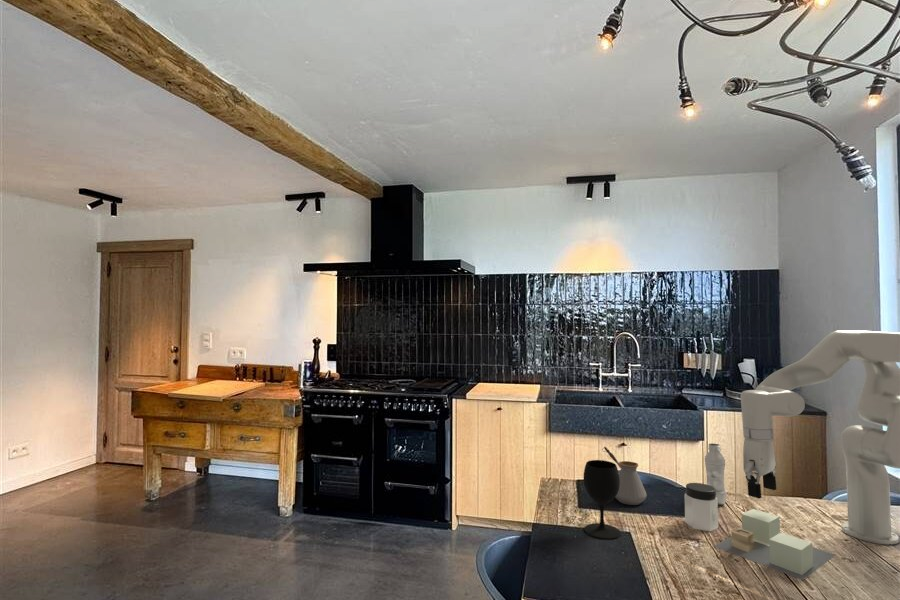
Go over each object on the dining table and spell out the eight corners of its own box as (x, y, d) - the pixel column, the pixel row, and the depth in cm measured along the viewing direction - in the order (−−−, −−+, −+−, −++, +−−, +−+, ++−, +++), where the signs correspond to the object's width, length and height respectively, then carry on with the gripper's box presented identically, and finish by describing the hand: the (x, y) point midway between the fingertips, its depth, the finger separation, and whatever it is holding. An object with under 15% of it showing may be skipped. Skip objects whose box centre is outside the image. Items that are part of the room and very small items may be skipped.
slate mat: (750, 528, 143) (750, 526, 143) (836, 556, 125) (835, 554, 126) (713, 548, 130) (713, 545, 130) (802, 582, 113) (802, 579, 113)
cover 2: (781, 555, 125) (780, 532, 125) (813, 566, 119) (812, 542, 120) (770, 563, 121) (769, 539, 121) (802, 575, 115) (801, 550, 116)
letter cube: (738, 542, 132) (738, 527, 133) (754, 548, 129) (753, 532, 129) (731, 546, 130) (731, 531, 130) (747, 552, 127) (747, 536, 127)
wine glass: (621, 542, 134) (619, 471, 135) (583, 536, 137) (582, 467, 138) (620, 527, 144) (619, 460, 145) (585, 522, 147) (584, 457, 148)
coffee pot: (654, 505, 161) (653, 461, 162) (624, 508, 158) (623, 463, 159) (618, 484, 182) (617, 445, 182) (591, 487, 179) (590, 447, 180)
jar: (707, 535, 138) (706, 494, 139) (680, 525, 145) (679, 486, 146) (722, 528, 143) (721, 488, 144) (696, 518, 150) (695, 480, 150)
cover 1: (753, 529, 141) (752, 508, 141) (780, 538, 135) (779, 516, 135) (742, 535, 137) (741, 514, 137) (769, 544, 131) (768, 522, 131)
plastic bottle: (702, 503, 163) (701, 444, 164) (708, 498, 167) (707, 441, 168) (723, 508, 158) (721, 448, 159) (729, 503, 163) (727, 444, 164)
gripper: (757, 426, 145) (761, 482, 145) (730, 436, 136) (734, 496, 135) (785, 430, 139) (789, 489, 138) (759, 441, 129) (763, 504, 129)
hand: (762, 492), depth 137 cm, fingers open, 9 cm apart
